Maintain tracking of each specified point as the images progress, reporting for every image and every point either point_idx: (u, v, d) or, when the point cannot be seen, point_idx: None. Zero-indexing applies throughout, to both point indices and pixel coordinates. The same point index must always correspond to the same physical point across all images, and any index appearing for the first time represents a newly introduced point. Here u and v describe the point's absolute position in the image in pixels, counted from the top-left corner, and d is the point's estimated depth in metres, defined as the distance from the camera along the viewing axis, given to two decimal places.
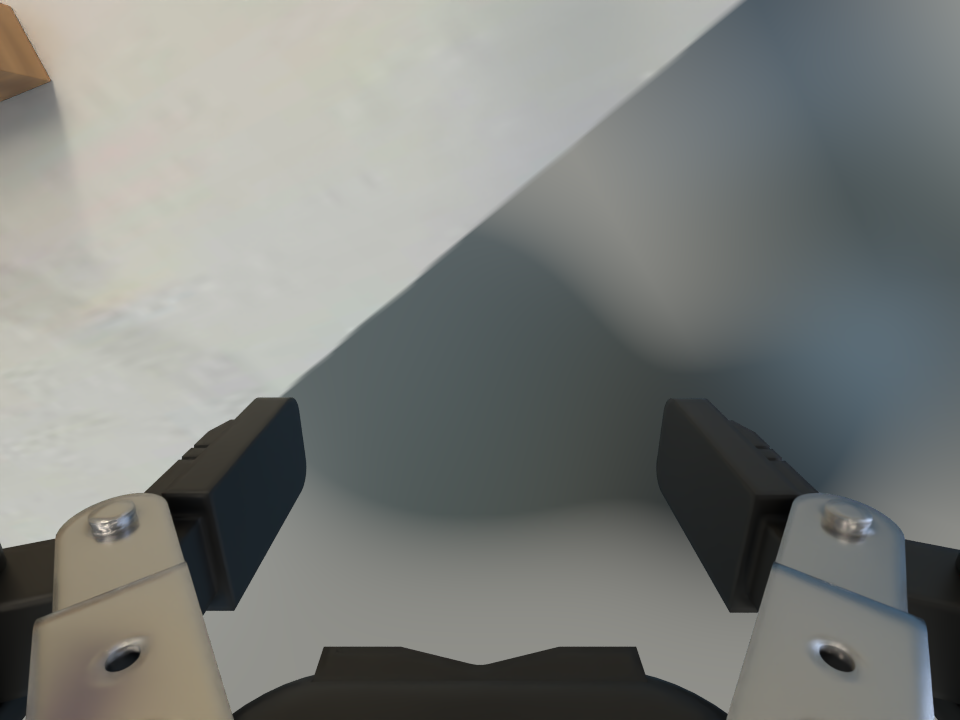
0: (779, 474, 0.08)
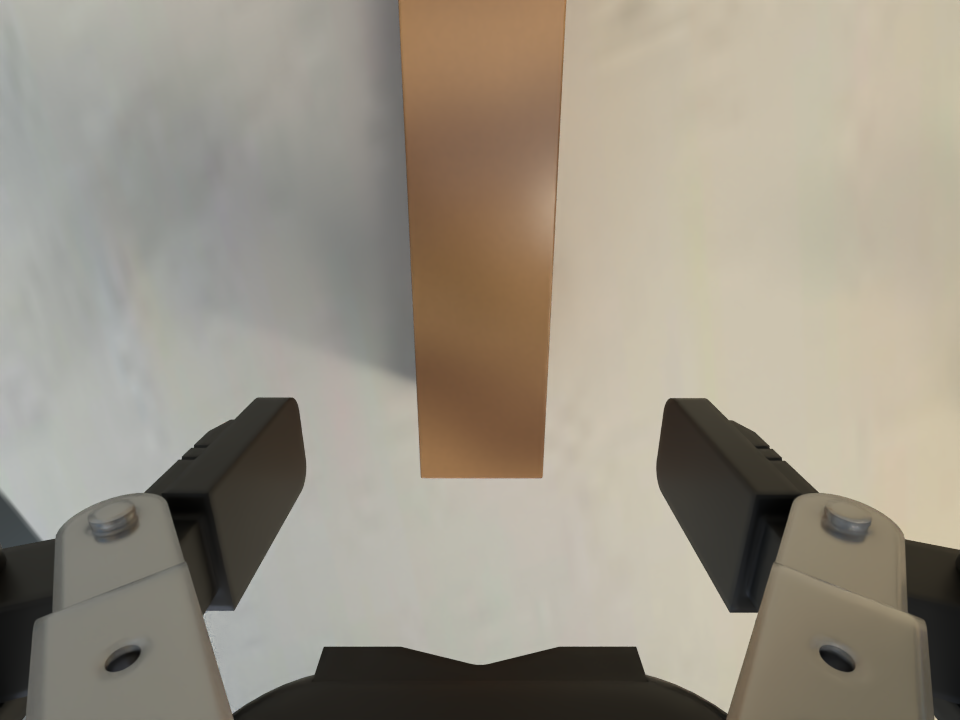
0: (779, 474, 0.08)
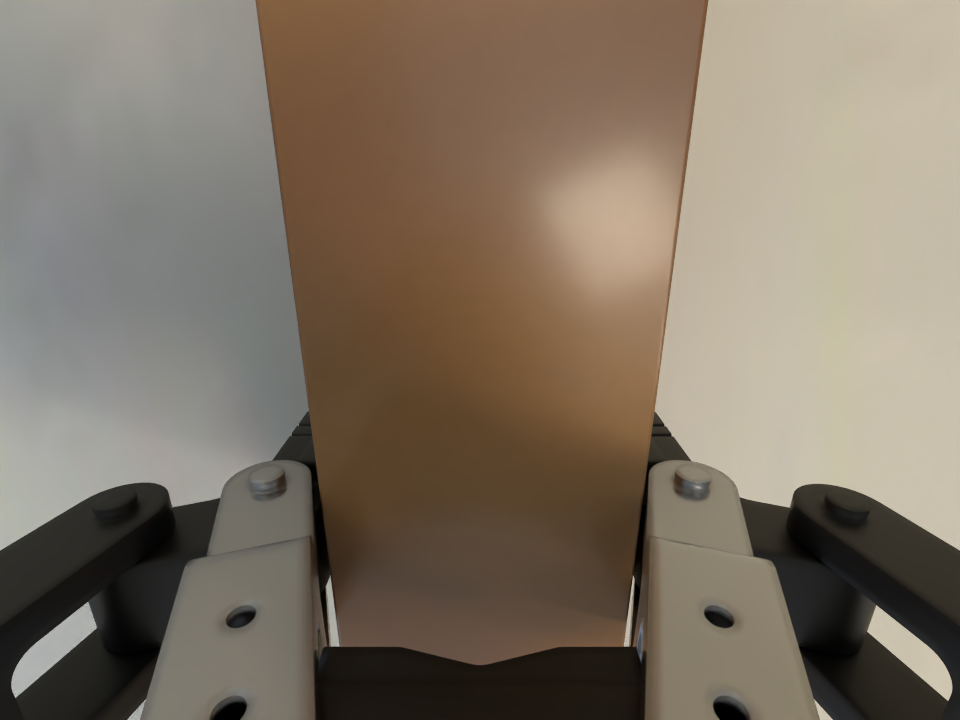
0: (653, 445, 0.09)
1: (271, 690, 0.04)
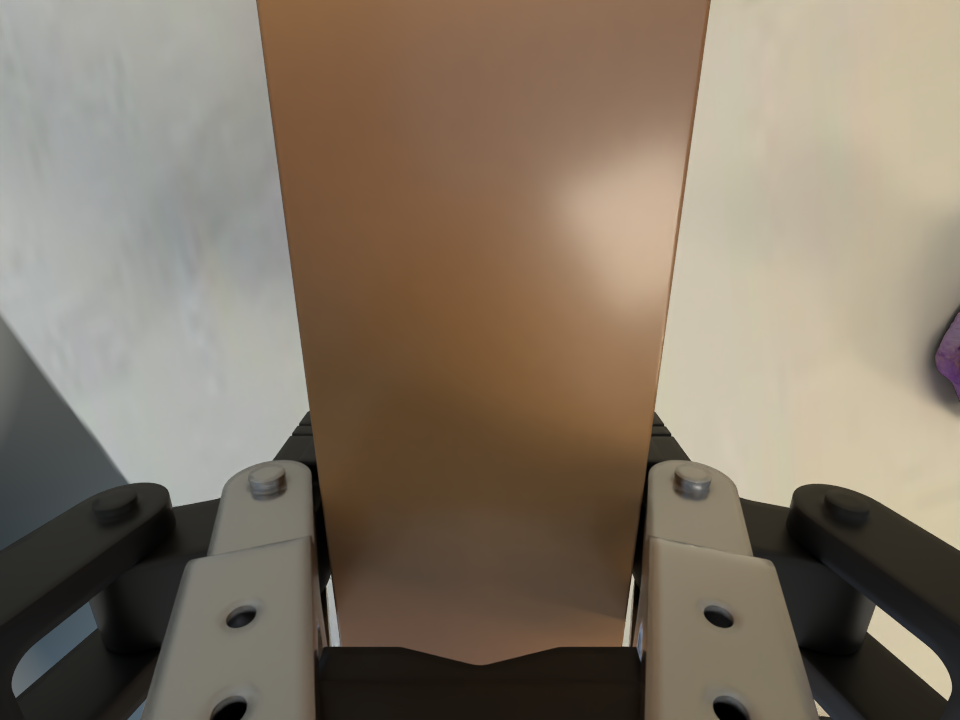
0: (653, 445, 0.09)
1: (271, 690, 0.04)
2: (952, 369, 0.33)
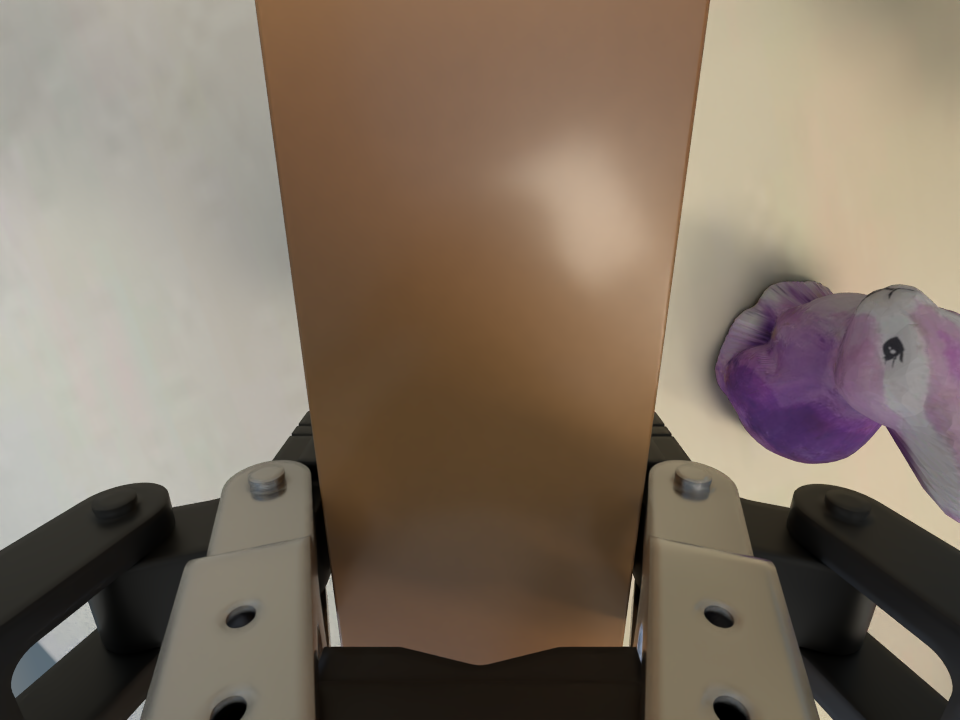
0: (653, 445, 0.09)
1: (271, 690, 0.04)
2: (723, 384, 0.31)
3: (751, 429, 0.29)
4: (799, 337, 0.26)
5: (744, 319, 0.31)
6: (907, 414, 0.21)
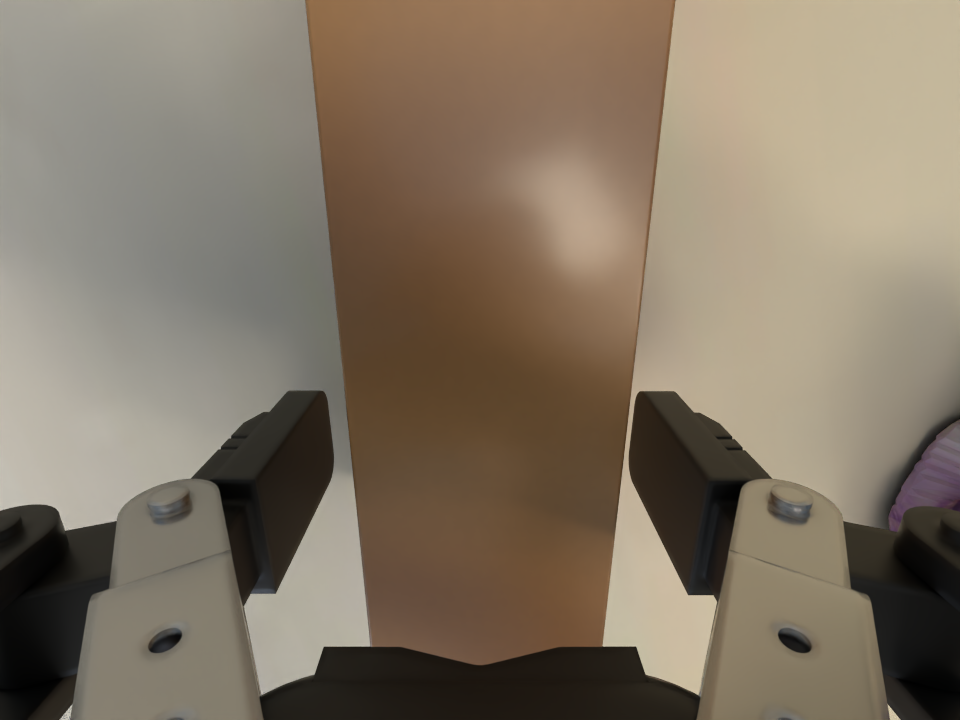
0: (734, 462, 0.08)
1: (211, 704, 0.04)
2: None
3: None
4: None
5: None
6: None
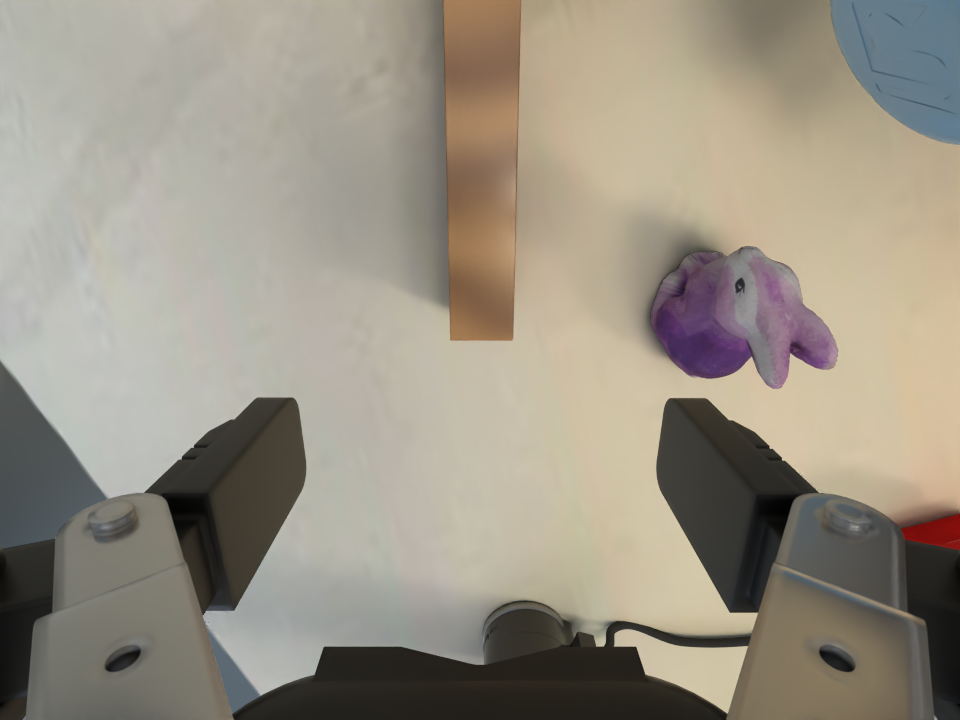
0: (779, 474, 0.08)
1: (179, 717, 0.04)
2: (654, 326, 0.43)
3: (671, 355, 0.42)
4: (697, 287, 0.38)
5: (669, 279, 0.43)
6: (747, 325, 0.33)
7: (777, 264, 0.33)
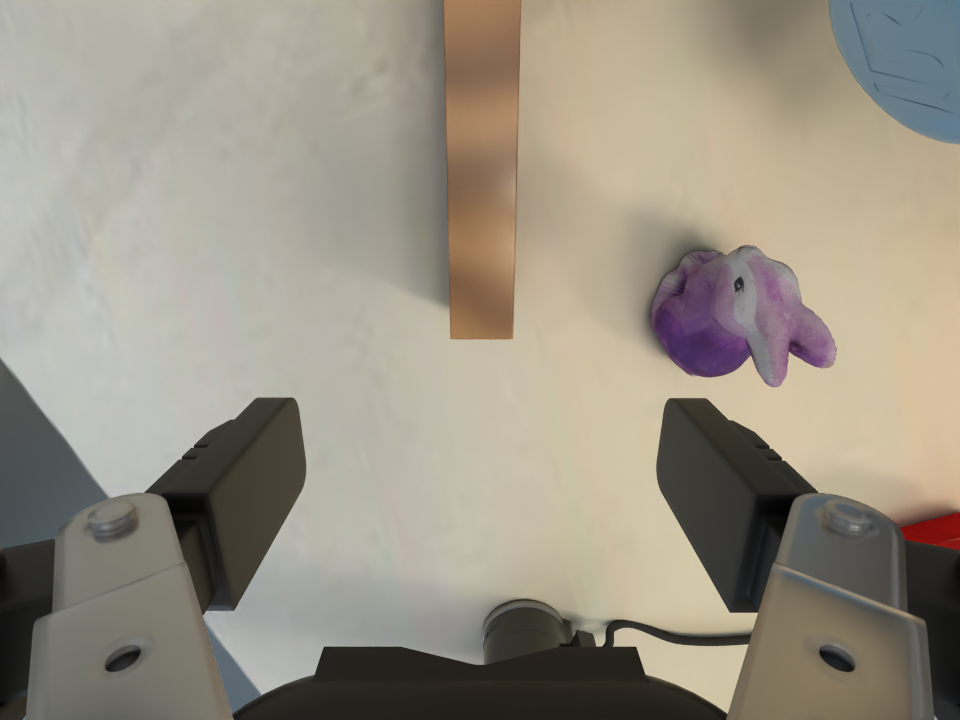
0: (779, 474, 0.08)
1: (179, 717, 0.04)
2: (653, 325, 0.44)
3: (671, 354, 0.42)
4: (696, 286, 0.39)
5: (668, 278, 0.43)
6: (746, 324, 0.33)
7: (776, 263, 0.33)
